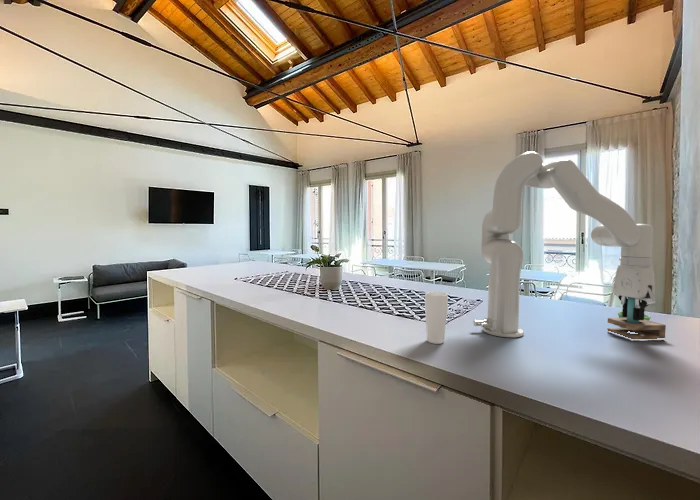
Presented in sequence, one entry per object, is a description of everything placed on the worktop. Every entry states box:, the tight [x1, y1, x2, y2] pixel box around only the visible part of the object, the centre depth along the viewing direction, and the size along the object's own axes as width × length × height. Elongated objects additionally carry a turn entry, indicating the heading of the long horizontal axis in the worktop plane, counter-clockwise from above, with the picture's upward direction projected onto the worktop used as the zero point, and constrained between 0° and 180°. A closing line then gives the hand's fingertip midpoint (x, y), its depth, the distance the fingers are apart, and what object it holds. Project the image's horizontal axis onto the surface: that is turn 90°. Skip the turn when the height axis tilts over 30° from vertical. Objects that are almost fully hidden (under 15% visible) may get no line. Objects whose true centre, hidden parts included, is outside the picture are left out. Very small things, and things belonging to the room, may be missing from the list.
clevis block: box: [606, 317, 667, 339], centre depth 105 cm, size 11×9×5 cm
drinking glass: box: [424, 291, 449, 345], centre depth 99 cm, size 7×7×15 cm
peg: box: [627, 297, 639, 323], centre depth 105 cm, size 3×3×10 cm
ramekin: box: [617, 311, 651, 321], centre depth 118 cm, size 9×9×4 cm
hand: (632, 317), depth 105 cm, fingers closed on peg, 3 cm apart
